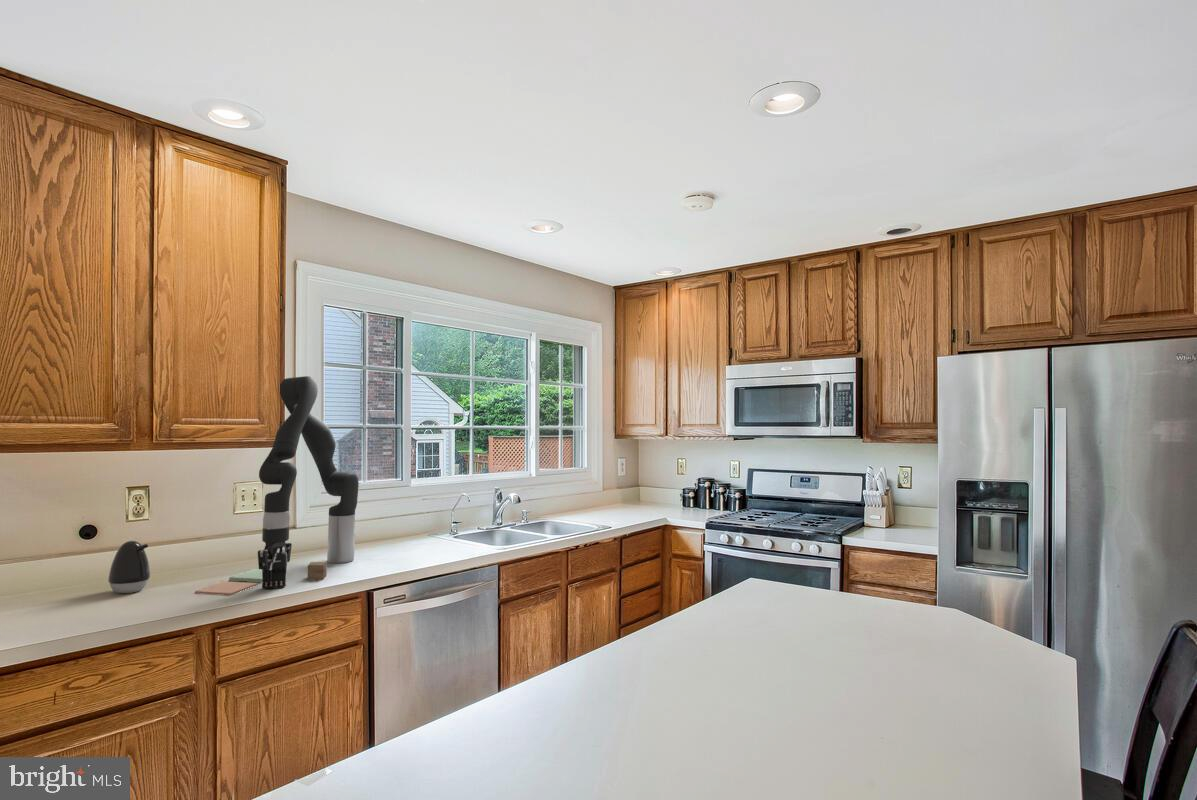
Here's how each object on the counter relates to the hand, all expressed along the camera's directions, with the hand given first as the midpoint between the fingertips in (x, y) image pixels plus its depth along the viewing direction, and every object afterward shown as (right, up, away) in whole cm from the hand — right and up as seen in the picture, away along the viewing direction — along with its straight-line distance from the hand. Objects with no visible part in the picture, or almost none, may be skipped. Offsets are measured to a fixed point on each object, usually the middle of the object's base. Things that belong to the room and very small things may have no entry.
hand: (274, 579), depth 200 cm
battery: (0, -3, 0) cm, 3 cm away
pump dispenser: (-40, -2, -7) cm, 41 cm away
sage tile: (-12, -3, +13) cm, 17 cm away
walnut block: (+8, -3, +13) cm, 16 cm away
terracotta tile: (-13, -3, -2) cm, 14 cm away
